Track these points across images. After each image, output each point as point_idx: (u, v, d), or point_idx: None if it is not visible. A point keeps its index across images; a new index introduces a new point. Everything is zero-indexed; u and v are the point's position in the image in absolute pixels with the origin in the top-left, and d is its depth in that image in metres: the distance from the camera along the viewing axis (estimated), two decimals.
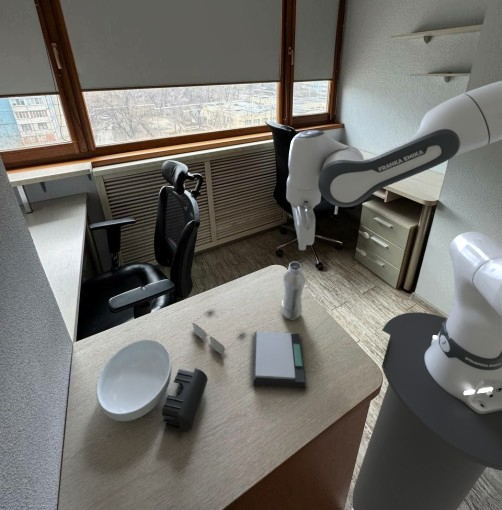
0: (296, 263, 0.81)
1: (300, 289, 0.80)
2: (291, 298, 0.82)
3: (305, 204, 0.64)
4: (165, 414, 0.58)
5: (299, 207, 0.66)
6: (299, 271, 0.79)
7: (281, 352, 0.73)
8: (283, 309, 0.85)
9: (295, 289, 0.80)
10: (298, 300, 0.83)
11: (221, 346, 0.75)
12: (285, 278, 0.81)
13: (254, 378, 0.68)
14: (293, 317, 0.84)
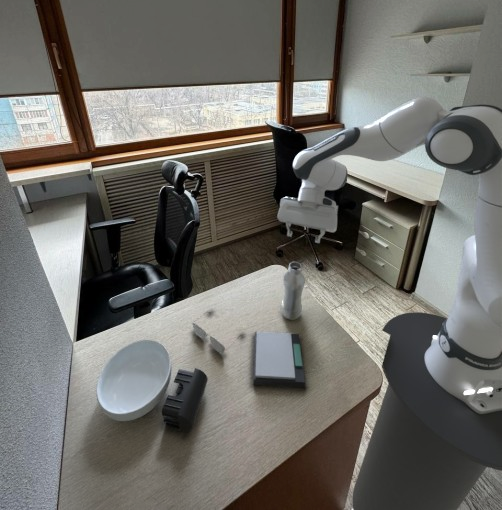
0: (296, 263, 0.81)
1: (300, 289, 0.80)
2: (291, 298, 0.82)
3: None
4: (165, 414, 0.58)
5: None
6: (299, 271, 0.79)
7: (281, 352, 0.73)
8: (283, 309, 0.85)
9: (295, 289, 0.80)
10: (298, 300, 0.83)
11: (221, 346, 0.75)
12: (285, 278, 0.81)
13: (254, 378, 0.68)
14: (293, 317, 0.84)
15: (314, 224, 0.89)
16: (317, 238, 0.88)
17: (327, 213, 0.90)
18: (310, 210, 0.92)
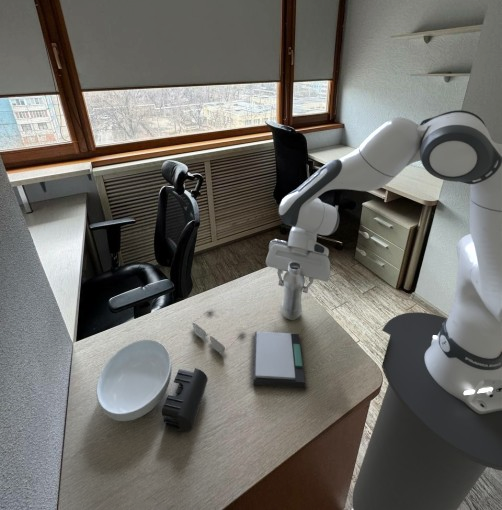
0: (296, 263, 0.81)
1: (300, 289, 0.80)
2: (291, 298, 0.82)
3: None
4: (165, 414, 0.58)
5: None
6: (299, 271, 0.79)
7: (281, 352, 0.73)
8: (283, 309, 0.85)
9: (295, 289, 0.80)
10: (298, 300, 0.83)
11: (221, 346, 0.75)
12: (285, 278, 0.81)
13: (254, 378, 0.68)
14: (293, 317, 0.84)
15: (305, 273, 0.82)
16: (305, 288, 0.81)
17: (319, 261, 0.83)
18: (300, 256, 0.85)
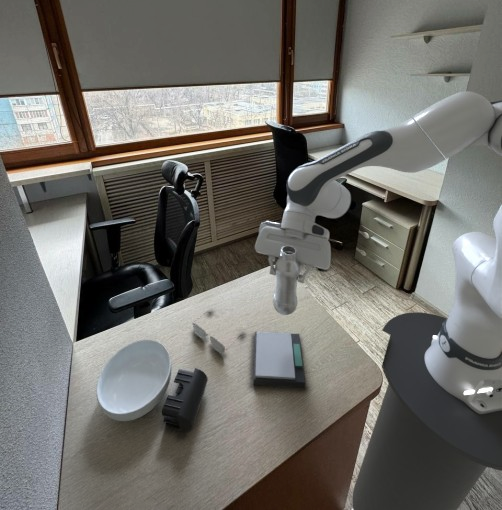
0: (290, 247, 0.68)
1: (295, 278, 0.67)
2: (285, 290, 0.69)
3: None
4: (165, 414, 0.58)
5: None
6: (293, 256, 0.66)
7: (281, 352, 0.73)
8: (275, 302, 0.72)
9: (289, 278, 0.66)
10: (293, 291, 0.69)
11: (221, 346, 0.75)
12: (277, 265, 0.68)
13: (254, 378, 0.68)
14: (287, 312, 0.71)
15: (301, 259, 0.69)
16: (301, 277, 0.68)
17: (318, 245, 0.69)
18: (296, 240, 0.71)
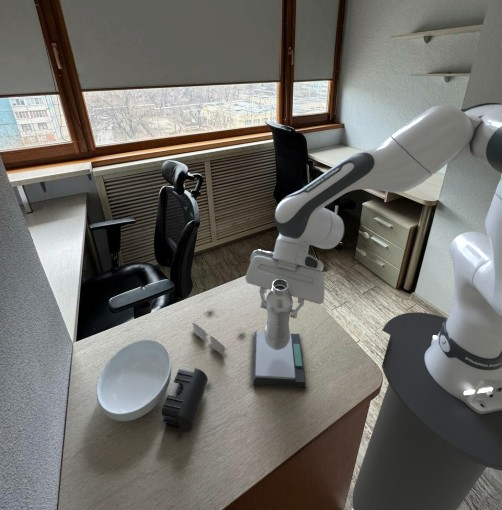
0: (282, 281, 0.65)
1: (286, 314, 0.64)
2: (276, 325, 0.65)
3: None
4: (165, 414, 0.58)
5: None
6: (285, 291, 0.63)
7: (281, 352, 0.73)
8: (266, 337, 0.69)
9: (280, 314, 0.63)
10: (285, 326, 0.66)
11: (221, 346, 0.75)
12: (268, 300, 0.65)
13: (254, 378, 0.68)
14: (279, 347, 0.68)
15: (293, 293, 0.66)
16: (293, 312, 0.65)
17: (311, 278, 0.66)
18: (288, 271, 0.68)
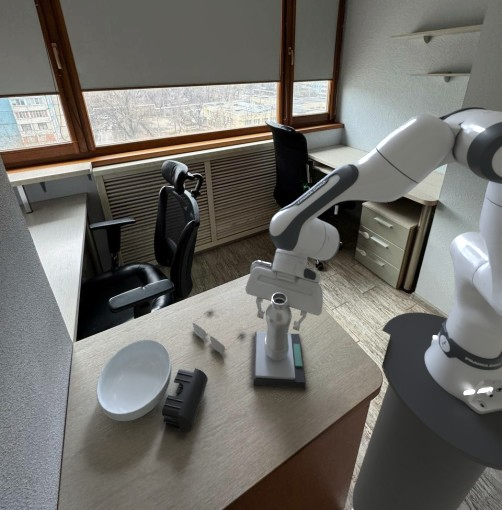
0: (281, 294, 0.67)
1: (285, 327, 0.65)
2: (275, 337, 0.67)
3: None
4: (165, 414, 0.58)
5: None
6: (284, 305, 0.64)
7: None
8: (266, 348, 0.70)
9: (280, 327, 0.65)
10: (284, 339, 0.68)
11: (221, 346, 0.75)
12: (267, 313, 0.66)
13: (254, 378, 0.68)
14: (278, 359, 0.69)
15: (292, 304, 0.67)
16: (296, 325, 0.66)
17: (310, 289, 0.68)
18: (287, 283, 0.70)
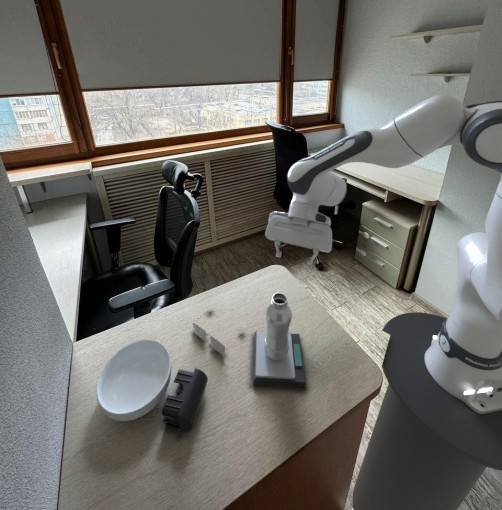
0: (281, 294, 0.67)
1: (286, 327, 0.65)
2: (275, 337, 0.67)
3: None
4: (165, 414, 0.58)
5: None
6: (284, 305, 0.64)
7: None
8: (266, 348, 0.70)
9: (280, 327, 0.65)
10: (284, 339, 0.68)
11: (221, 346, 0.75)
12: (267, 313, 0.66)
13: (254, 378, 0.68)
14: (278, 359, 0.69)
15: (306, 243, 0.79)
16: (309, 260, 0.78)
17: (321, 231, 0.79)
18: (301, 227, 0.81)
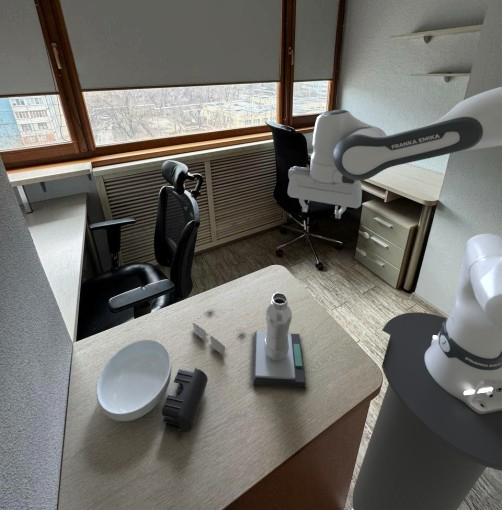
0: (281, 294, 0.67)
1: (286, 327, 0.65)
2: (275, 337, 0.67)
3: None
4: (165, 414, 0.58)
5: None
6: (284, 305, 0.64)
7: None
8: (266, 348, 0.70)
9: (280, 327, 0.65)
10: (284, 339, 0.68)
11: (221, 346, 0.75)
12: (267, 313, 0.66)
13: (254, 378, 0.68)
14: (278, 359, 0.69)
15: (333, 202, 0.74)
16: (337, 215, 0.76)
17: (349, 189, 0.71)
18: (326, 185, 0.73)
